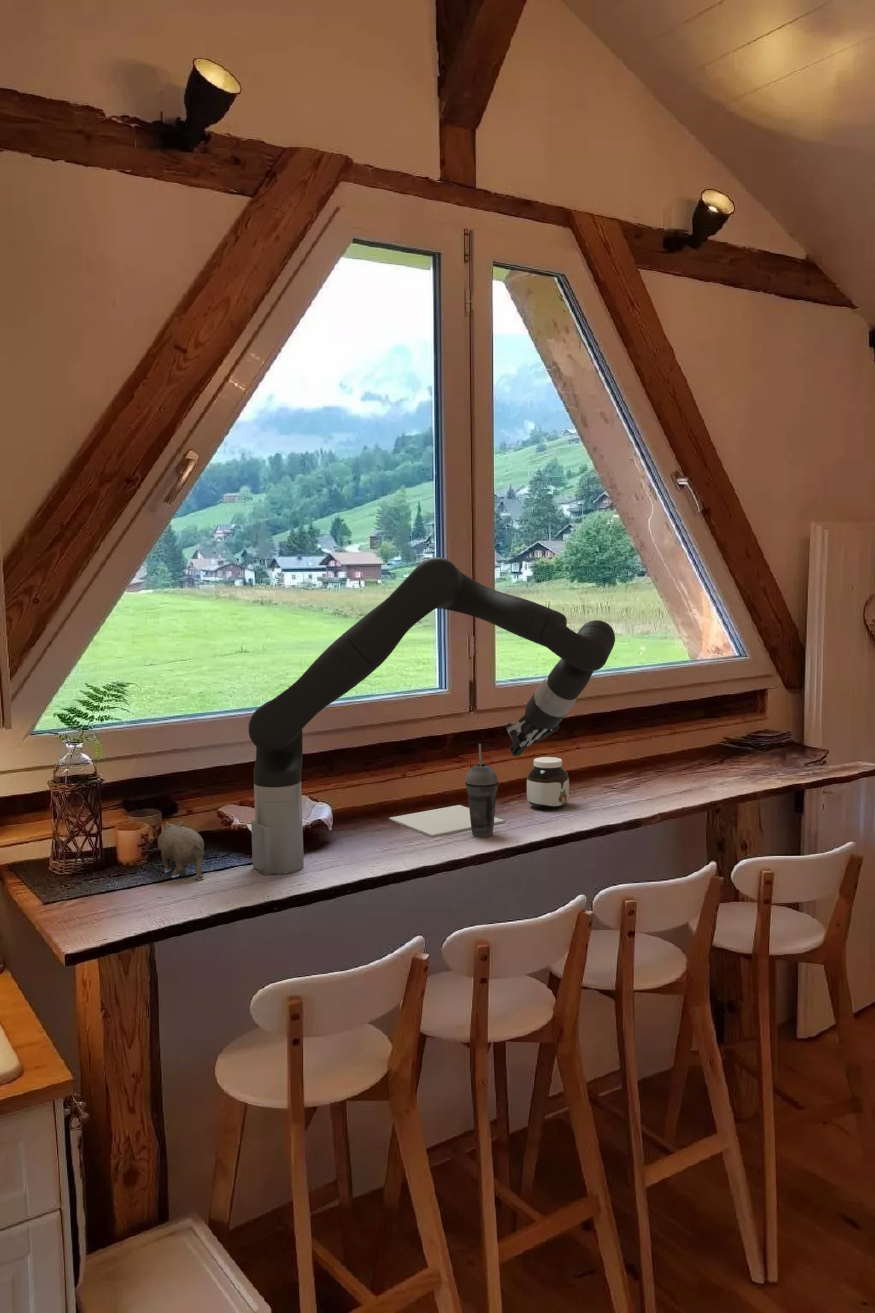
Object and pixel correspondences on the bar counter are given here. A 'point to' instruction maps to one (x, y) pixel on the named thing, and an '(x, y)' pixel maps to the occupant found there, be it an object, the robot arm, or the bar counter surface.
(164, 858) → the elephant figurine
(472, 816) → the beverage cup
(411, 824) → the white flat panel
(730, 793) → the bar counter surface
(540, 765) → the spread jar
